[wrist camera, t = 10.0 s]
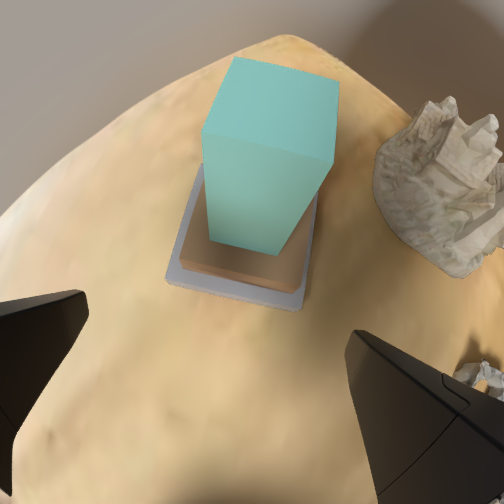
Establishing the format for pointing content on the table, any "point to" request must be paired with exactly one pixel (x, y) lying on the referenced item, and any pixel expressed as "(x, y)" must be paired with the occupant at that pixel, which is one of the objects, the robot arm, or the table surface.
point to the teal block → (266, 152)
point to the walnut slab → (245, 254)
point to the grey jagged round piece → (443, 187)
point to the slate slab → (229, 287)
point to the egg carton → (482, 377)
